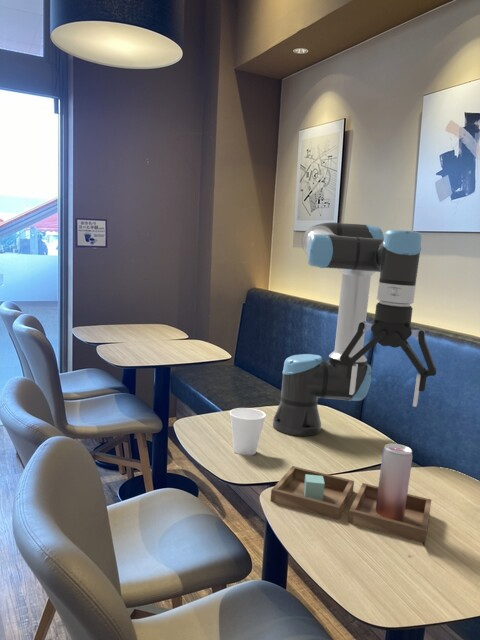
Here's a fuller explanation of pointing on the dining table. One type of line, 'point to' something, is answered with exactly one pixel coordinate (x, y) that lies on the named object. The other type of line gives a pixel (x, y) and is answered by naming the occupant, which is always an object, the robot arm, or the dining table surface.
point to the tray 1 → (293, 495)
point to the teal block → (314, 487)
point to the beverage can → (394, 481)
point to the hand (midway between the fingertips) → (382, 399)
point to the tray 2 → (408, 527)
